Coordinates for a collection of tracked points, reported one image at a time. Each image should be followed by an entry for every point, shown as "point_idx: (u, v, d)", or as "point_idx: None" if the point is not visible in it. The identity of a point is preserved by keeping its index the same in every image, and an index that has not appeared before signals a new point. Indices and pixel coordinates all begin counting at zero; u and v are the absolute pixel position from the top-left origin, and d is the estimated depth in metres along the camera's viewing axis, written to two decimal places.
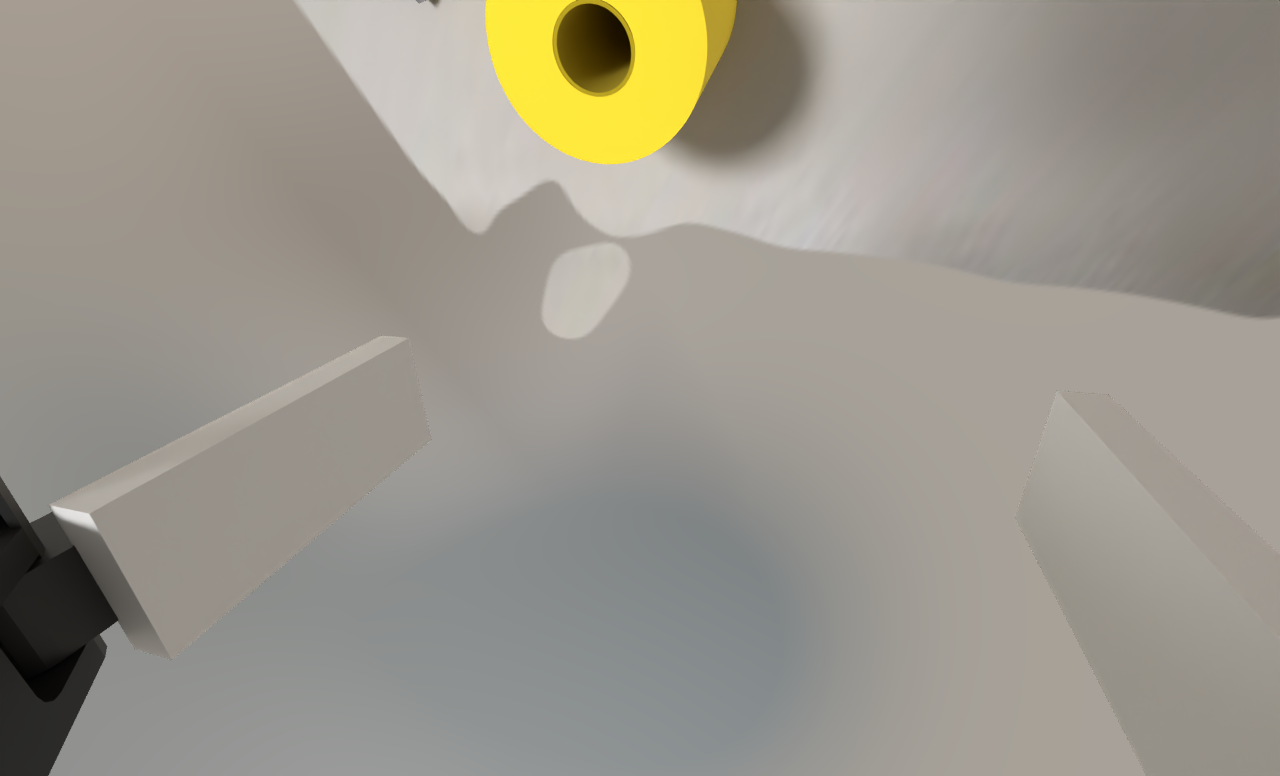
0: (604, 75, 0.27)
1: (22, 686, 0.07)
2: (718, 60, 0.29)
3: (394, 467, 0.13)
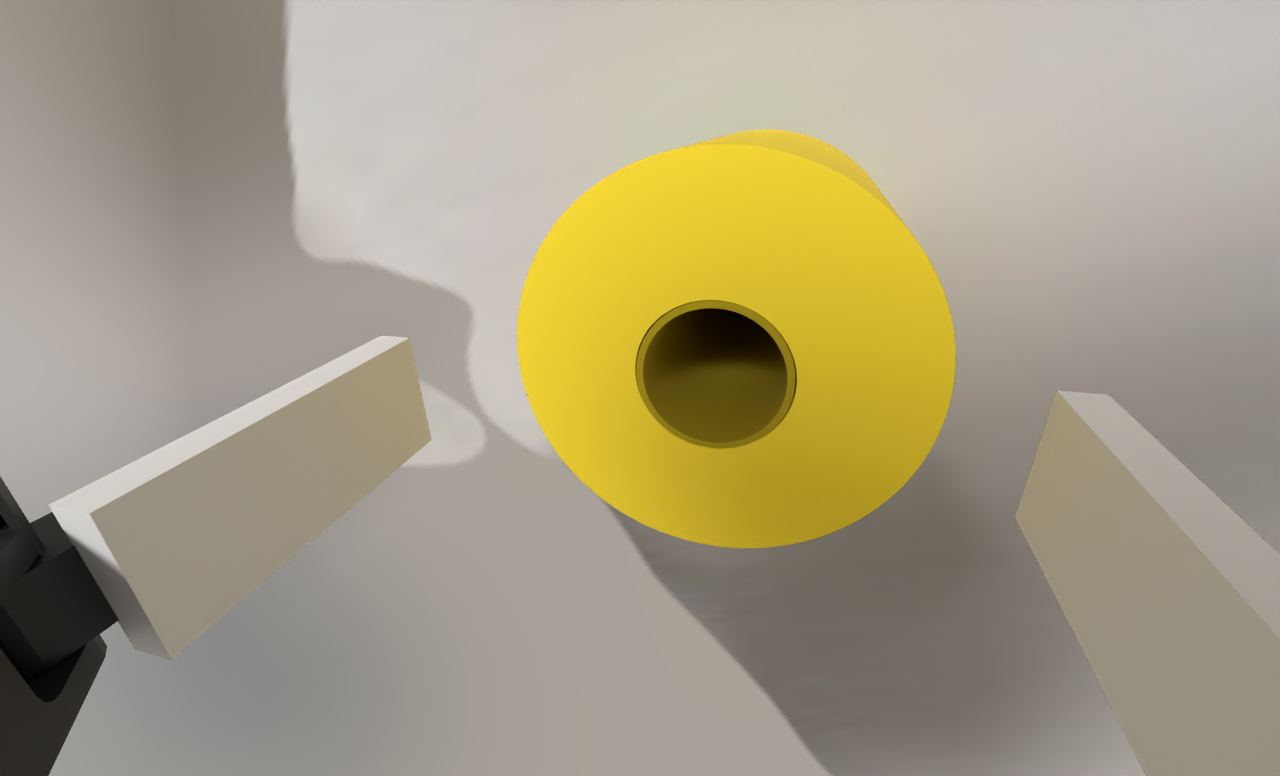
0: (673, 366, 0.16)
1: (22, 686, 0.07)
2: None
3: (394, 467, 0.13)
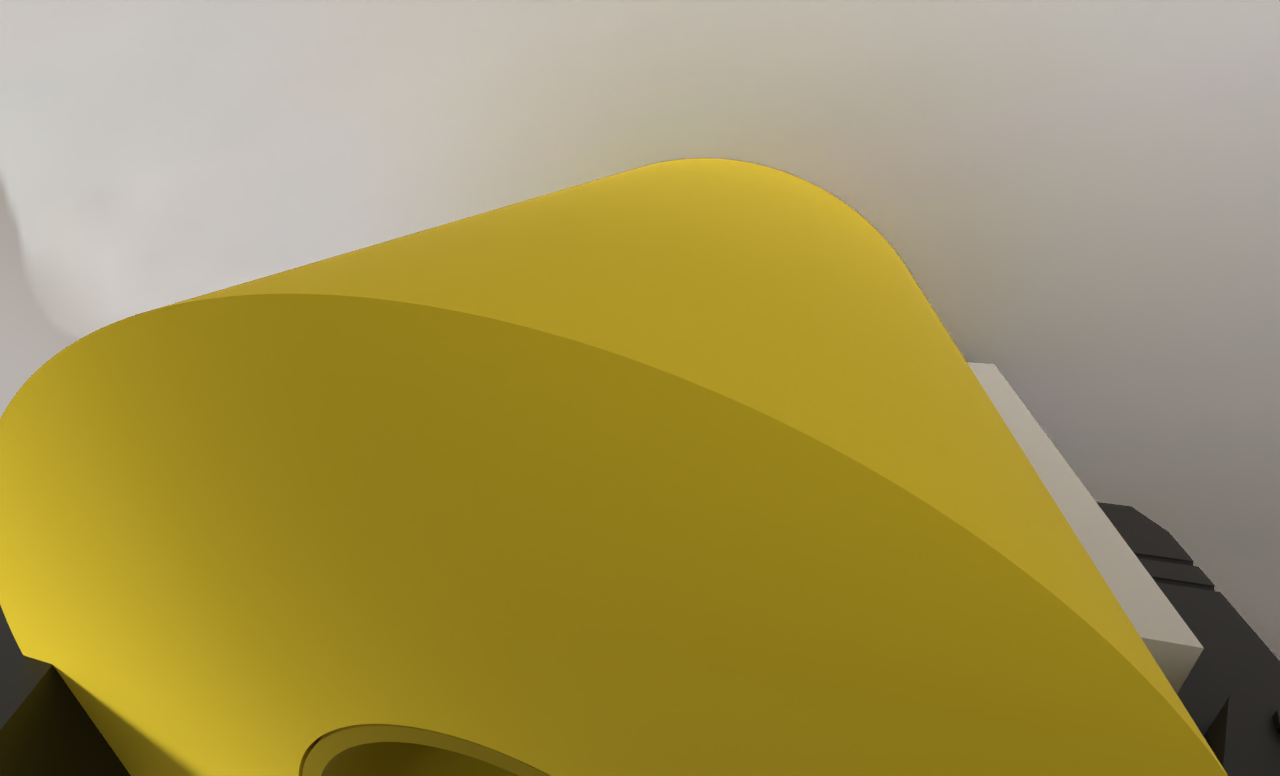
0: None
1: None
2: None
3: None
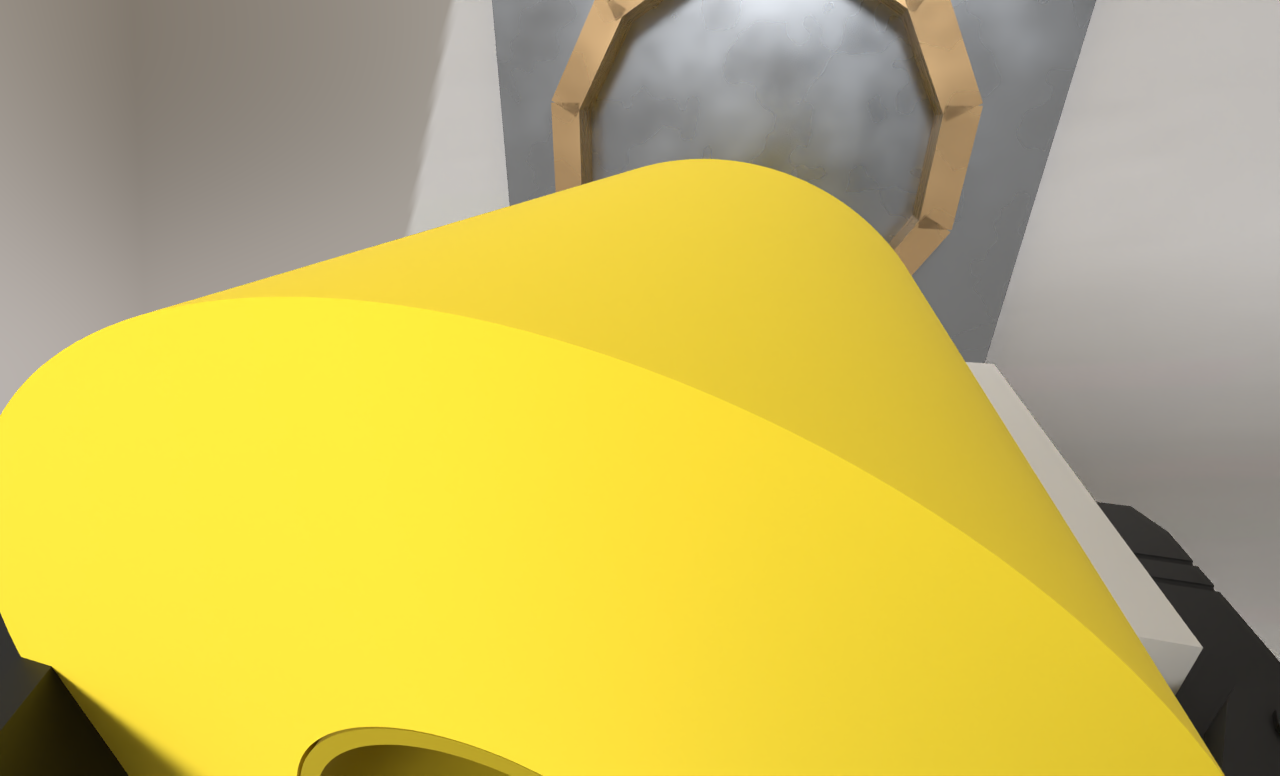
0: None
1: None
2: None
3: None
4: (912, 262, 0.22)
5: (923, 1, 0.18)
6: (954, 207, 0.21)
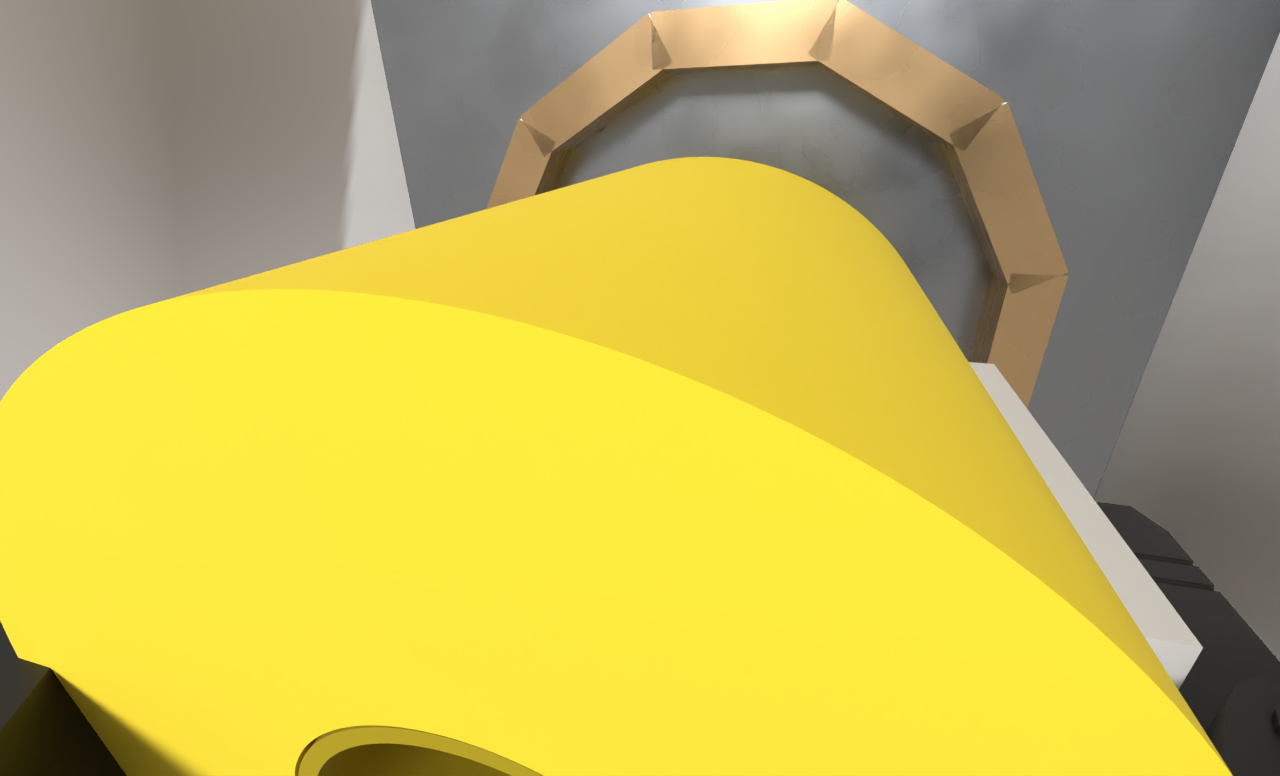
0: None
1: None
2: None
3: None
4: None
5: (977, 135, 0.12)
6: (1024, 402, 0.15)
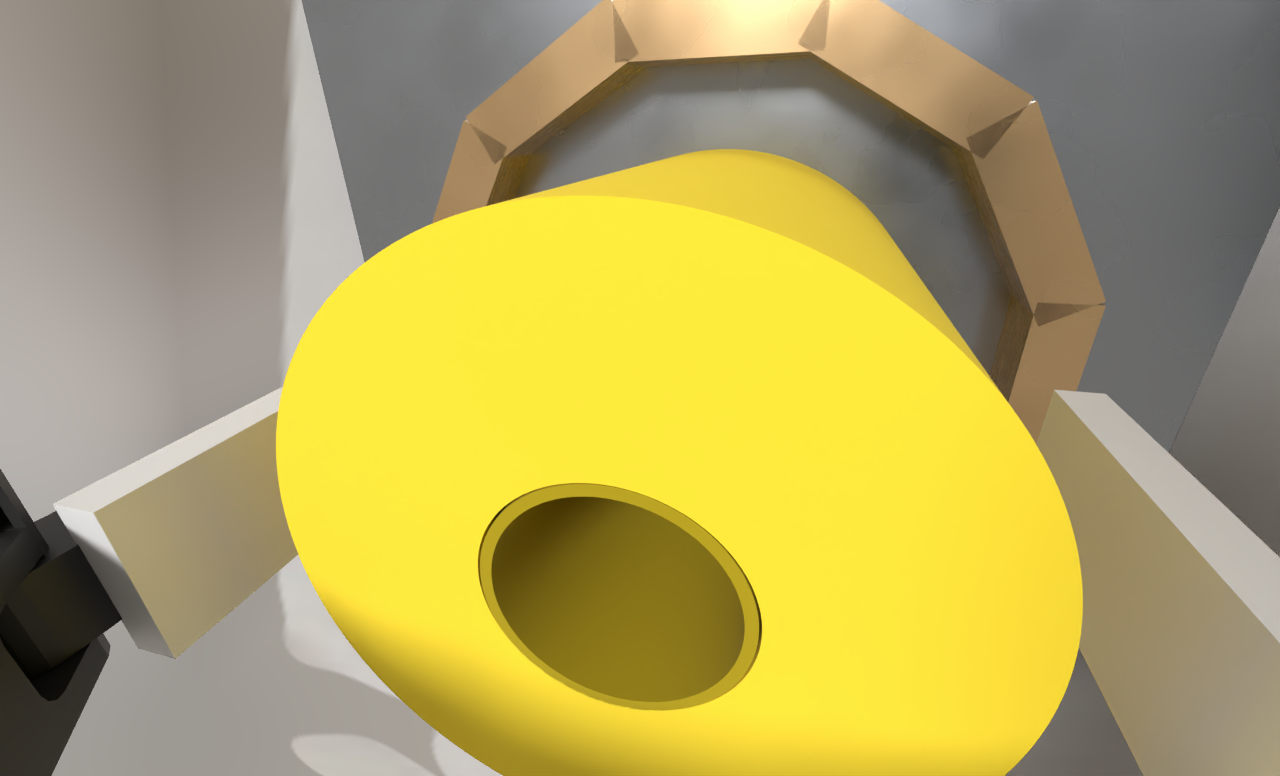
0: (575, 526, 0.10)
1: (26, 685, 0.07)
2: None
3: None
4: None
5: (999, 140, 0.10)
6: None
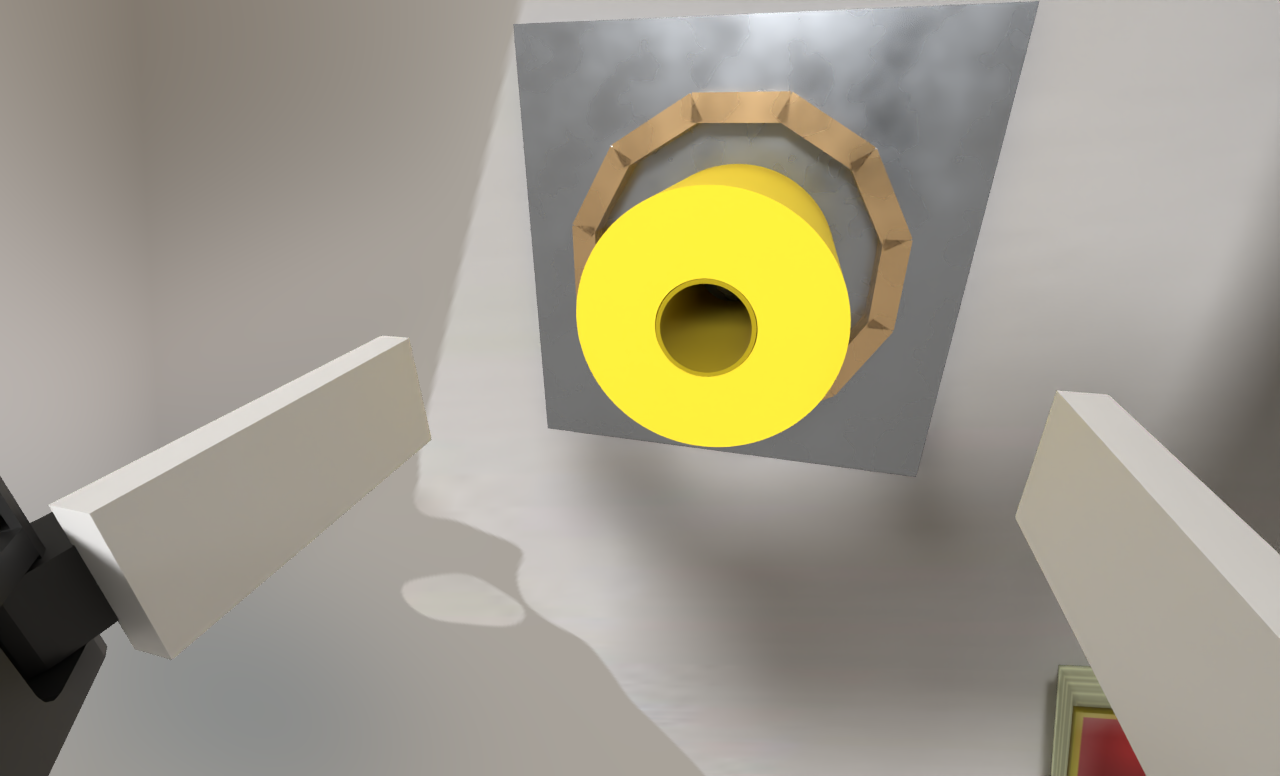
0: (677, 326, 0.23)
1: (22, 686, 0.07)
2: None
3: (394, 467, 0.13)
4: (863, 353, 0.27)
5: (862, 165, 0.24)
6: (894, 313, 0.26)
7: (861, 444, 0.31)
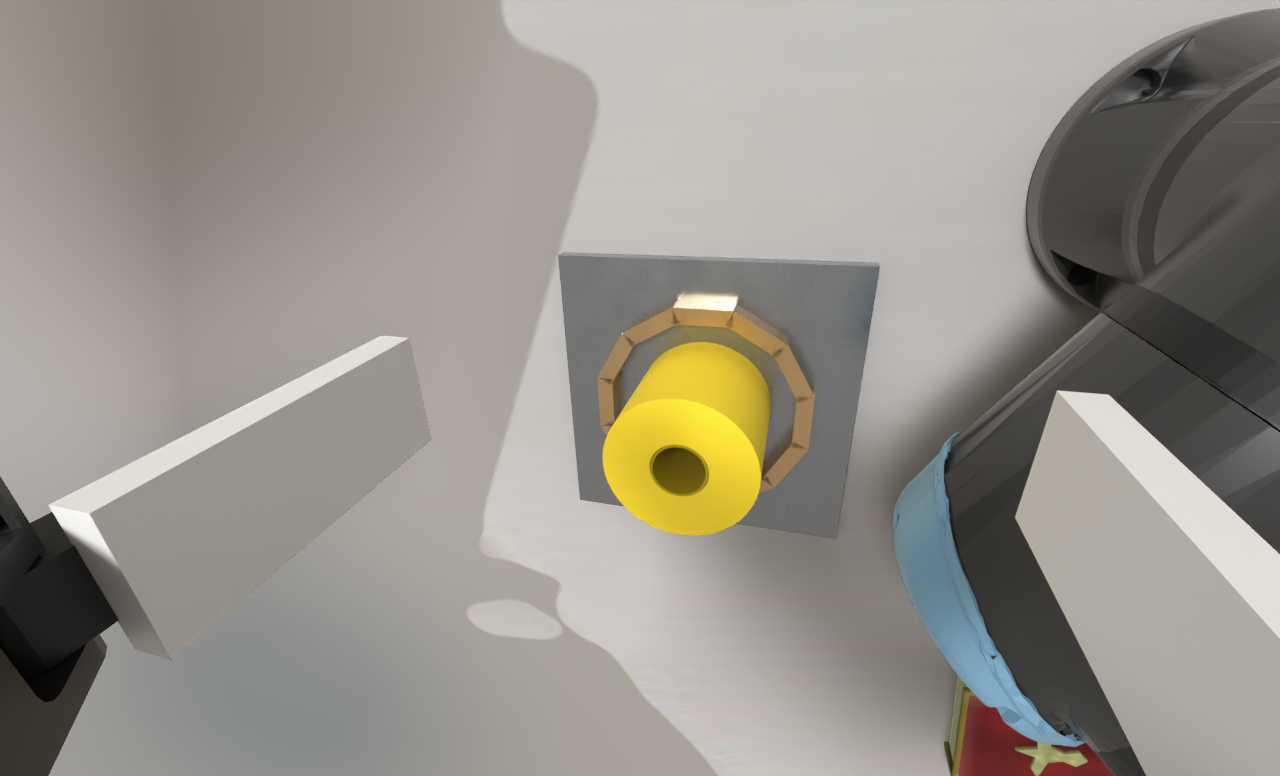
0: (664, 459, 0.37)
1: (22, 686, 0.07)
2: None
3: (394, 467, 0.13)
4: (791, 462, 0.41)
5: (780, 353, 0.38)
6: (808, 439, 0.40)
7: (797, 516, 0.45)
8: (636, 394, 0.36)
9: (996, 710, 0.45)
